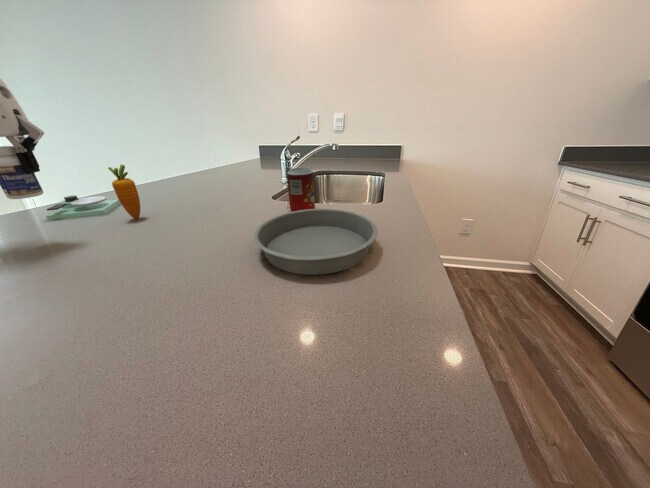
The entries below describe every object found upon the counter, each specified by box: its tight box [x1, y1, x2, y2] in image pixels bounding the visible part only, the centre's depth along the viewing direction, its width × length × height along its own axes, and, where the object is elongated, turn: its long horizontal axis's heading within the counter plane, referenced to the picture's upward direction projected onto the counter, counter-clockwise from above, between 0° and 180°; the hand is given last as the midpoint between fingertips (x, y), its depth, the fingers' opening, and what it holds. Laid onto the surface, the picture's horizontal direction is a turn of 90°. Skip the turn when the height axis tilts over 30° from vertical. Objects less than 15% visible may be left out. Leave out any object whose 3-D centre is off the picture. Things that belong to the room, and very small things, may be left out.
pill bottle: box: [0, 145, 44, 200], centre depth 52 cm, size 5×5×10 cm
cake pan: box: [252, 208, 379, 276], centre depth 53 cm, size 25×25×4 cm
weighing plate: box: [71, 195, 107, 206], centre depth 79 cm, size 8×8×1 cm
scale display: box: [46, 203, 67, 211], centre depth 75 cm, size 2×5×1 cm, turn 17°
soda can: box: [286, 167, 316, 212], centre depth 71 cm, size 7×7×12 cm
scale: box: [45, 197, 121, 221], centre depth 80 cm, size 14×12×3 cm
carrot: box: [107, 164, 141, 221], centre depth 69 cm, size 5×5×15 cm
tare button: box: [63, 195, 79, 202], centre depth 81 cm, size 3×3×2 cm
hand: (14, 172), depth 52 cm, fingers closed on pill bottle, 5 cm apart
